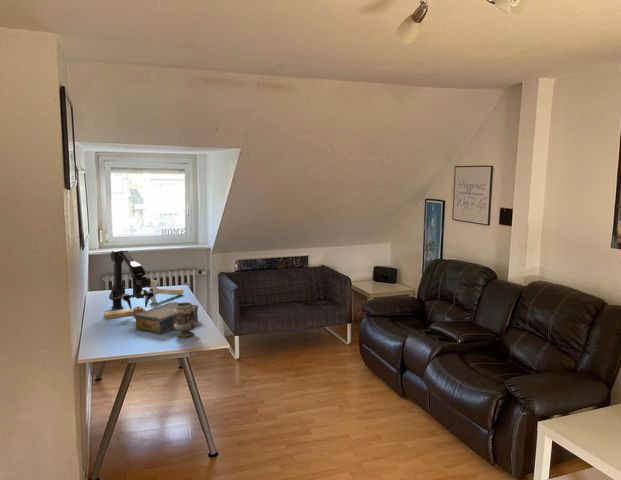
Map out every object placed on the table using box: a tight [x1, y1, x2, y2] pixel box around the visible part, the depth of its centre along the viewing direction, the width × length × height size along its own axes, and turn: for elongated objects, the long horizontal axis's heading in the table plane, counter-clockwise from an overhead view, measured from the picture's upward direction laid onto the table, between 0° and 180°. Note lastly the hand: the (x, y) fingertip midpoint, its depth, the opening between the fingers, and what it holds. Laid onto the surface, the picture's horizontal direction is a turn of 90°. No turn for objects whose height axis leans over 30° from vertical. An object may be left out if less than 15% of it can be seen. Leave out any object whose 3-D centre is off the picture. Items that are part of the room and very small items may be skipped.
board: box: [103, 306, 146, 319], centre depth 315 cm, size 7×24×3 cm, turn 122°
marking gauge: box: [132, 305, 144, 317], centre depth 315 cm, size 10×5×6 cm, turn 32°
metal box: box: [134, 301, 199, 335], centre depth 291 cm, size 21×32×10 cm, turn 153°
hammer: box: [149, 279, 185, 304], centre depth 355 cm, size 16×5×30 cm
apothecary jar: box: [173, 301, 197, 339], centre depth 272 cm, size 12×12×18 cm
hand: (138, 308), depth 313 cm, fingers open, 9 cm apart
